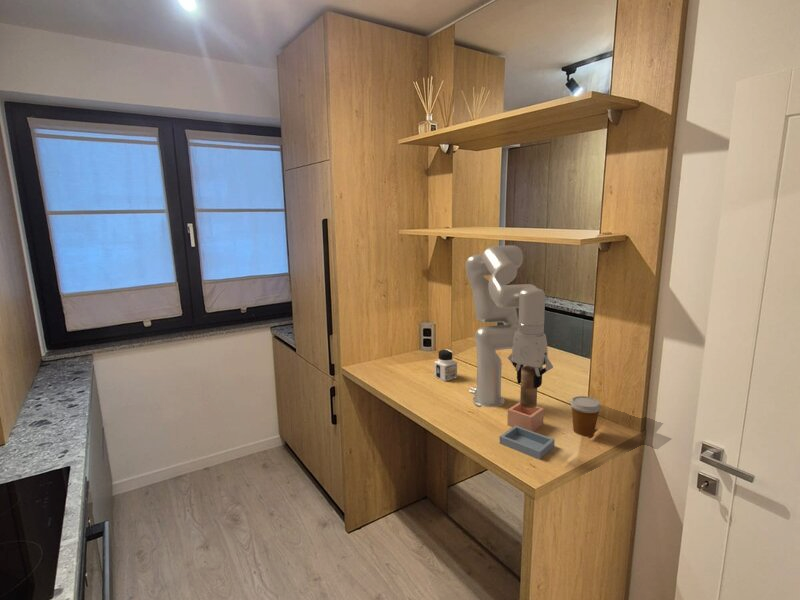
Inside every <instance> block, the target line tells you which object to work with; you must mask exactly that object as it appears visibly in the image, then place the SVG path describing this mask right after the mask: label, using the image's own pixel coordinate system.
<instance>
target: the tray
mask: <svg viewBox="0 0 800 600" xmlns="http://www.w3.org/2000/svg"><path fill="white" fill-rule="evenodd" d="M555 440H556V439H554V438H552V437H549V436H546V435H543V434H541V433H538V432H536V431H534V432H533V431H530V430H527V429H524V428H521V427H519V426H516V425H515V426H514V427H511V428H509V429H508V430H507V431H505V432H504V433H502V434H501V435H500V436H499V444H500V445H503V446H505V447H507V448H510V449H512V450H515V451H517V452H520V453H521V454H524V455H527V456H530V457H531V458H535V459H537V460H541V459H542V458H543V457H544V456H546V454H548V453H549V452H550V451H552V449H553V448H555Z"/></svg>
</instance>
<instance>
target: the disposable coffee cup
mask: <svg viewBox="0 0 800 600" xmlns="http://www.w3.org/2000/svg"><path fill="white" fill-rule="evenodd" d="M570 405H571V406H570V407H571V411H572V412H571V415H572V428H573V432H574V433H575V434H577V435H579V436H582V437H588V439H591V438H594V434H595V432H596V431H595V430H596V427H597V421H598V419H599V418H598V417H599V413H600V410H601V408H602V407H601V403H600V401H599V400H598V399H596V398H594V397H591V396H587V395H586V396H585V395H577V396H574V397H573V398H571V400H570Z"/></svg>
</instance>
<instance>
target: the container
mask: <svg viewBox="0 0 800 600" xmlns="http://www.w3.org/2000/svg"><path fill="white" fill-rule="evenodd" d="M453 354H454V352H453V351H452V350H450V349H446V348H445V349H441V350H439V351H438V360H435V361H434V362H433V363H434V368H433V370H434V371H433V372H434V374H433V375H434V377H435V378H437V379H438V378H439V380H440V381H444V382H448V381H450V379H451V380H453V379H452V378H454V379H456V378H455V377H457V378H458V361H455V360H454V359H453V358H454V357H453ZM447 380H448V381H447Z"/></svg>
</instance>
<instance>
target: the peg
mask: <svg viewBox="0 0 800 600" xmlns="http://www.w3.org/2000/svg"><path fill="white" fill-rule="evenodd" d="M534 376H536V372H535V368H534V367H529V366H525V365H524V366H523V367H521V383H520V397H519V398H520V399H519V400H520V401H519V402H520V405H521V406H523V407H526V408H534V407H536V406H537V405H538V404H537V403H538V388H534ZM537 407H538V406H537Z"/></svg>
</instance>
